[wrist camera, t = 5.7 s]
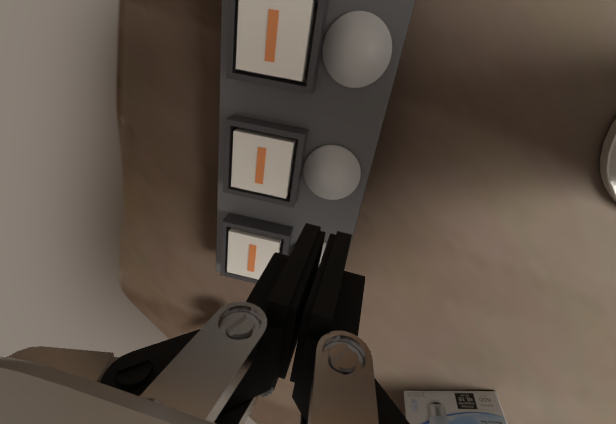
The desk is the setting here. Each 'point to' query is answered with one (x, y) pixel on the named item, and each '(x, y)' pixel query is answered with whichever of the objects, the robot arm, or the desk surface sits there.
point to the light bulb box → (453, 407)
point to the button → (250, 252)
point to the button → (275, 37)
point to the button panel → (311, 121)
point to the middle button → (263, 162)
